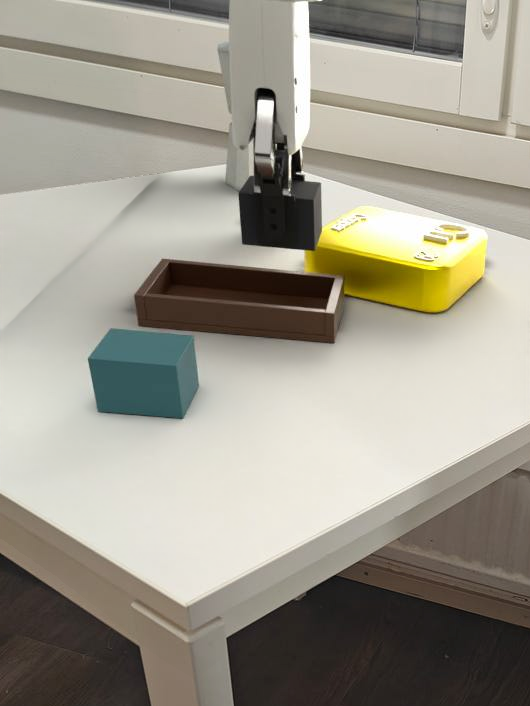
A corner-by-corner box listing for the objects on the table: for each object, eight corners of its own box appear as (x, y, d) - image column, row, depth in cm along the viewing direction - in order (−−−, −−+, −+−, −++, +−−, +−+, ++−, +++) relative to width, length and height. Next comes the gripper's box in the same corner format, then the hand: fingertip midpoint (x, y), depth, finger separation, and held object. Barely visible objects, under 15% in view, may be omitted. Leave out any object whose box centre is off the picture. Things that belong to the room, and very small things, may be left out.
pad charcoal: (241, 244, 74) (238, 192, 71) (253, 225, 78) (249, 175, 75) (314, 251, 74) (313, 199, 71) (322, 231, 78) (321, 182, 76)
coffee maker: (208, 173, 114) (193, 1, 102) (272, 170, 118) (265, 5, 106) (255, 206, 105) (245, 23, 93) (323, 202, 109) (321, 26, 98)
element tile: (360, 245, 98) (360, 198, 95) (488, 272, 95) (493, 225, 92) (297, 285, 87) (295, 233, 84) (441, 317, 84) (445, 265, 81)
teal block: (97, 411, 64) (87, 358, 61) (119, 379, 68) (110, 327, 65) (182, 418, 64) (176, 365, 62) (199, 385, 68) (193, 335, 66)
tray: (138, 325, 76) (133, 295, 74) (165, 287, 83) (162, 258, 81) (334, 343, 77) (334, 313, 75) (344, 303, 84) (344, 275, 83)
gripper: (238, -44, 70) (254, 202, 82) (190, -27, 57) (217, 263, 69) (334, -33, 71) (336, 210, 83) (308, -14, 58) (315, 271, 69)
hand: (282, 231), depth 76 cm, fingers closed on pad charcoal, 5 cm apart
